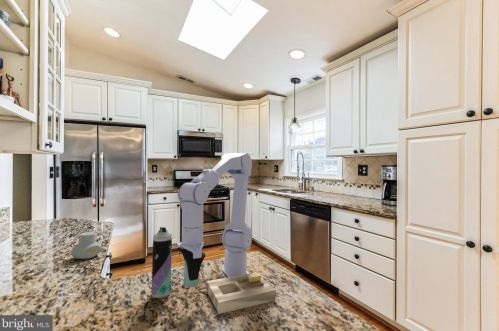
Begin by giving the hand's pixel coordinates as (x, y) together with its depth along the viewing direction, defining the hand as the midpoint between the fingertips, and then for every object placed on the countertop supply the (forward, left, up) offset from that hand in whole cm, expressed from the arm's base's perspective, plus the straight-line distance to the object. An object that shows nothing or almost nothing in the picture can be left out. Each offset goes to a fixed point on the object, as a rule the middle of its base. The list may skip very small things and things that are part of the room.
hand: (191, 276), depth 64 cm
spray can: (-11, -7, -9) cm, 16 cm away
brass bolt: (0, +19, -5) cm, 19 cm away
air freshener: (-56, -35, -9) cm, 66 cm away
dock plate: (0, +14, -8) cm, 17 cm away
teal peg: (0, 0, -2) cm, 2 cm away
